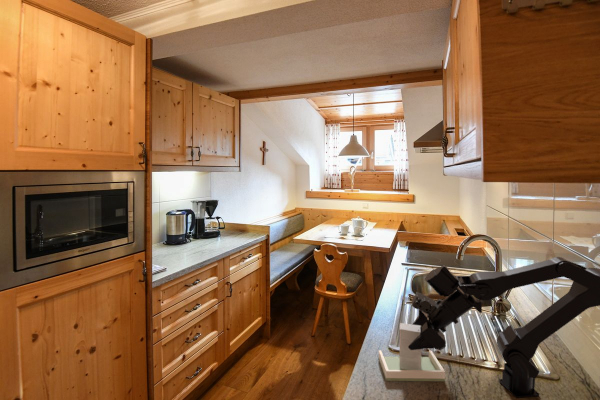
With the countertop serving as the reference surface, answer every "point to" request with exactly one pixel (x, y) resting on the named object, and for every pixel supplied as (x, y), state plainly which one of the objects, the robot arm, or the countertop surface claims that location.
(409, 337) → the skincare box
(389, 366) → the pad
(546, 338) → the robot arm
